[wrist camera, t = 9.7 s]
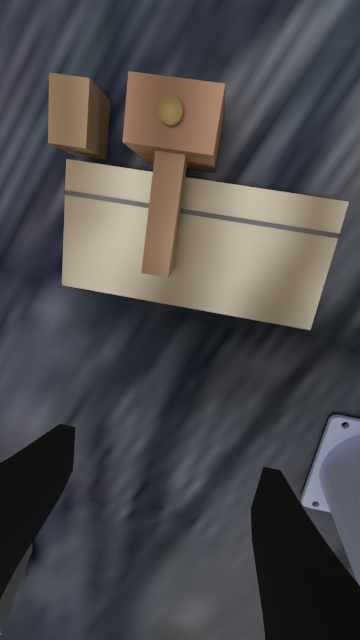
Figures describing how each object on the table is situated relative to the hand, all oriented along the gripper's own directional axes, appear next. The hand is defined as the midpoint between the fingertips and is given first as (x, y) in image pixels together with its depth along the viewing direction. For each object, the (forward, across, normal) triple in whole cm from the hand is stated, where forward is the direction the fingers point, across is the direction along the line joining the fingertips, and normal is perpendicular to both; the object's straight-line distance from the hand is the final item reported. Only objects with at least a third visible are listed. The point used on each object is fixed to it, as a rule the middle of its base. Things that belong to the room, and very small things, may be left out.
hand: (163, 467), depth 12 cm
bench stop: (+10, +8, -13) cm, 18 cm away
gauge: (+11, +2, -10) cm, 15 cm away
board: (+10, +1, -7) cm, 13 cm away
